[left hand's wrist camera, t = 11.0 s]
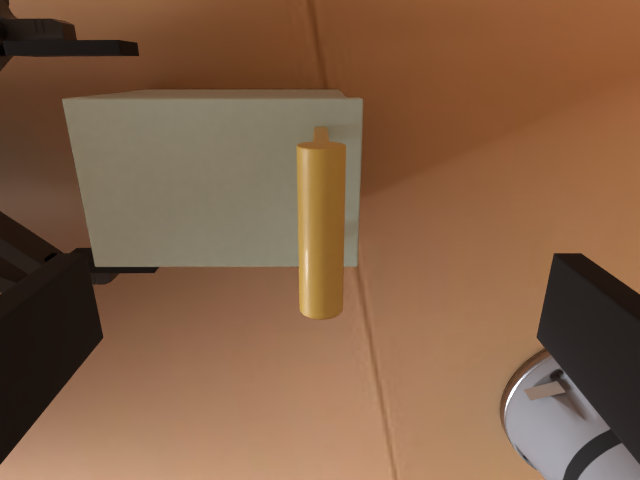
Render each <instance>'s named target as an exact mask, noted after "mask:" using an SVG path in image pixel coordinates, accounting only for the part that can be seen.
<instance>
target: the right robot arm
mask: <svg viewBox="0 0 640 480" xmlns="http://www.w3.org/2000/svg"><path fill="white" fill-rule="evenodd" d="M8 6H9V0H0V71H1V70H2V69H3V67H4V66H5V65H6V64H7V63H8V61H9V60H10V59H11V58H12V57H13V56H32V57H56V56H139V51H138V44H137V43H135V42H128V41H122V40H77V38H76V33H75V27H74V25H73V24H70V23H68V22H65V21H61V20H56V19H17V18H16V17H15V16H14V15H13V14H12V12H11V11H10V9H9V7H8ZM59 253H63V252H61V251H60V250H58V249H57V248H55V247H54V246H52V245H51V244H49V243H48V242H46V241H45V240H43V239H42V238H40V237H39V236H37V235H36V234H34V233H33V232H31V231H30V230H28V229H27V228H25V227H24V226H22V225H20V224H19V223H17V222H16V221H14V220H13V219H11V218H10V217H8V216H7V215H5V214H4V213H2V212H1V211H0V292H1V293H3V292H5V291H6V290H8V289H9V288H10V287H12V286H13V285H15V284H16V283H17V282H19V281H20V280H22V279H23V278H25V277H26V276H27V275H29V274H30V273H32V272H33V271H35V270H36V269H37V268H39V267H40V266H42V265H43V264H45V263H46V262H47V261H49V260H50V259H52V258H53V257H54V256H56V255H57V254H59ZM71 253H86V255H87V260H88V265H89V270H90V275H91V280H92V284H107V283H109V282H111V281H112V280H113V279H114V278H115V277H116V276H117V275H118V274H119V273H155V272H156V271H157V269H158V268H159V267H95V263H94V258H93V253H92V248H76V249H75V250H73V251H72V252H71Z"/></svg>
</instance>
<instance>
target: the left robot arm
mask: <svg viewBox="0 0 640 480" xmlns="http://www.w3.org/2000/svg"><path fill="white" fill-rule="evenodd" d="M102 338H103V333H102V328H101V324H100V319H99V314H98V309H97V304H96V299H95V294H94V289H93V285H92V280H91V275H90V270H89V265H88V260H87V255H86V253H59V254H57V255H56V256H54V257H53V258H52V259H50V260H49V261H47V262H46V263H45V264H43V265H42V266H40V267H39V268H37V269H36V270H35V271H33V272H32V273H30V274H29V275H27V276H26V277H25V278H23V279H22V280H20V281H19V282H17V283H16V284H15V285H13V286H12V287H10V288H9V289H8V290H6V291H5V292H3V293H2V294H0V464H1V463H2V462H3V461H4V460H5V458H6V457H7V456H8V455H9V453H10V452H11V451H12V450H13V448H14V447H15V446H16V445H17V443H18V442H19V441H20V440H21V439H22V437H23V436H24V435H25V434H26V432H27V431H28V430H29V429H30V427H31V426H32V425H33V424H34V422H35V421H36V420H37V419H38V418H39V416H40V415H41V414H42V413H43V411H44V410H45V409H46V408H47V406H48V405H49V404H50V403H51V401H52V400H53V399H54V398H55V397H56V395H57V394H58V393H59V392H60V390H61V389H62V388H63V387H64V385H65V384H66V383H67V382H68V380H69V379H70V378H71V377H72V376H73V374H74V373H75V372H76V371H77V369H78V368H79V367H80V366H81V364H82V363H83V362H84V361H85V359H86V358H87V357H88V356H89V355H90V353H91V352H92V351H93V350H94V348H95V347H96V346H97V345H98V343H99V342H100V341H101V340H102ZM537 338H538V340H539V341H540V342H541V343H542V345H543V346H544V347H545V349H544V350H542V351H540V352H538V353H537V354H535V355H534V356H532V357H531V358H530V359H529V360H527V361H526V362H525V363H524V364H523V365H522V366H521V367H520V368H519V369H518V370H517V371H516V372H515V374H514V375H513V376H512V378H511V379H510V381H509V382H508V384H507V386H506V388H505V390H504V393H503V395H502V399H501V404H500V418H501V423H502V426H503V428H504V431H505V433H506V435H507V437H508V439H509V441H510V442H511V444H512V446H513V447H514V449H515V450H516V451H517V452H518V454H519V455H520V456H521V457H522V458H523V459H524V460H525V461H526V462H527V463H528V464H529V465H530V466H532V467H533V468H534V469H536V470H538V471H539V472H540V473H541V474H542V476H543V477H544V478H545V479H546V480H640V294H638V293H637V292H635V291H634V290H632V289H631V288H630V287H628V286H627V285H625V284H624V283H623V282H621V281H620V280H618V279H617V278H615V277H614V276H613V275H611V274H610V273H608V272H607V271H605V270H604V269H603V268H601V267H600V266H598V265H597V264H595V263H594V262H593V261H591V260H590V259H588V258H587V257H586V256H584V255H583V254H581V253H554V255H553V260H552V265H551V270H550V275H549V280H548V285H547V289H546V294H545V299H544V304H543V309H542V314H541V319H540V324H539V328H538V333H537Z"/></svg>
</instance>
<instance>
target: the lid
mask: <svg viewBox="0 0 640 480" xmlns="http://www.w3.org/2000/svg"><path fill="white" fill-rule="evenodd" d="M62 103H63V108H64V113H65V118H66V123H67V128H68V133H69V138H70V143H71V148H72V153H73V158H74V163H75V168H76V173H77V178H78V183H79V188H80V193H81V198H82V203H83V208H84V213H85V218H86V223H87V228H88V233H89V238H90V243H91V248H92V253H93V258H94V263H95V267H299V308H300V311H301V313H302V314H303V315H305V316H306V317H309V318H312V319H330V318H333V317H336V316H338V315H339V314H340V313H341V312H342V310H343V274H344V267H357V266H358V243H359V214H360V184H361V154H362V125H363V99H362V98H360V97H74V98H65V99H62Z"/></svg>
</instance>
